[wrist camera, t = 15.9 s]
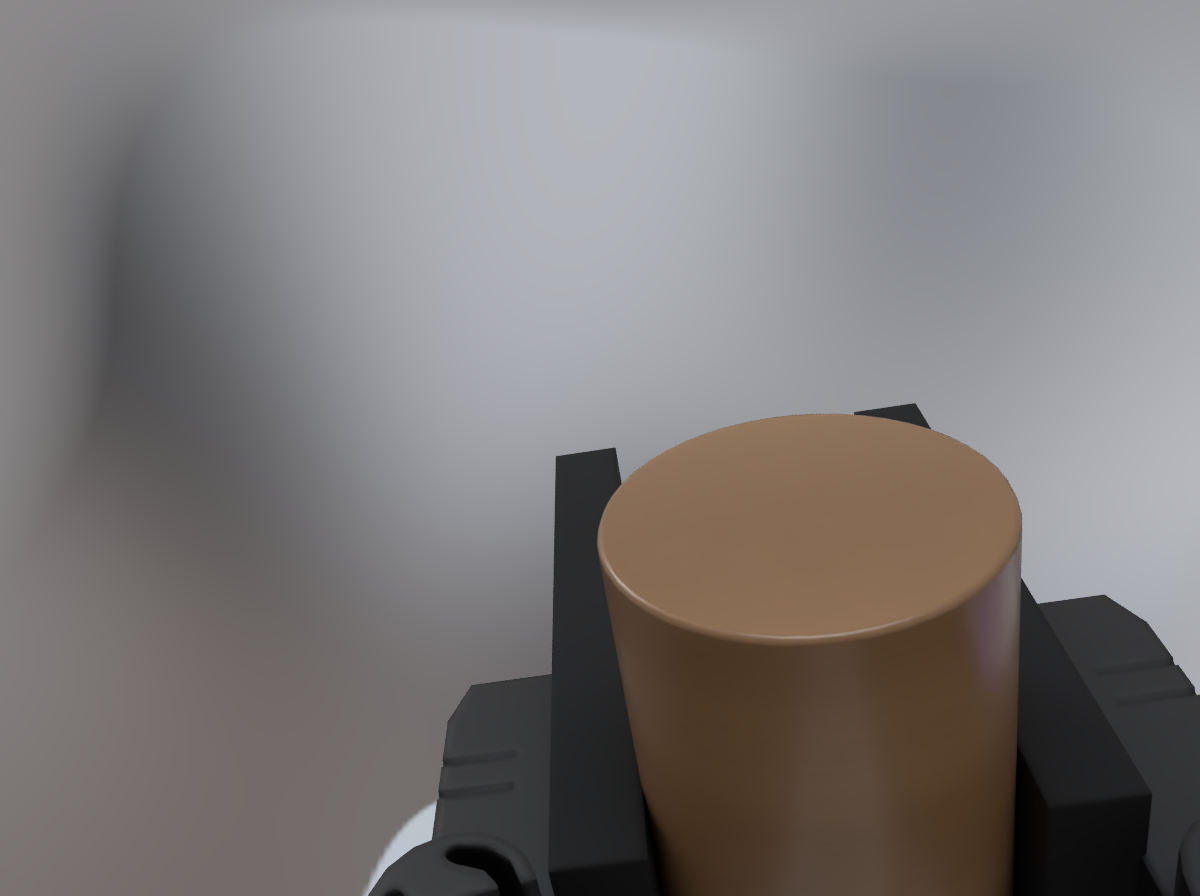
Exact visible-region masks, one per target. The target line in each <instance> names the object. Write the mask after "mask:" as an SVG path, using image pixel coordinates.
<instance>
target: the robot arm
mask: <svg viewBox="0 0 1200 896" xmlns="http://www.w3.org/2000/svg"><path fill="white" fill-rule="evenodd" d="M854 415H864V416H871V417H879V418H886V419H891V420H896V421H901V422H906V423H910V424H914V425H917V426H921V427H924V428H928V429H931V428H930V427H929V425H928V423H927V422H926V420H925V418H924V417H923V415H922V414H921V412H920V410H919V409H918V407H917V405H916V404H907V405H900V406H893V407H887V408H881V409H873V410H866V411H860V412H854ZM620 485H621V478H620V472H619V466H618V460H617V454H616V448H609V449H603V450H596V451H590V452H582V453H575V454H569V455H562V456H556V481H555V534H554V535H555V536H554V588H553V640H552V642H553V643H552V674H550V675H543V676H535V677H528V678H520V679H513V680H506V681H500V682H491V683H484V684H477V685H471V687H470V689H469V690H468V692H467V693H466V695H465V696H464V698H463V699H462V701H461V702H460V704H459V705H458V707H457V708H456V710H455V711H454V713H453V714H452V716H451V717H450V719H449V720H448V725H447V732H446V739H445V747H444V754H443V767H442V769H441V776H440V784H439V791H438V792H439V800H437V806H436V813H435V821H434V828H433V836H432V840H431V841H429V842H426V843H424V844H421V845H419V846H416V847H414V848H412V849H411V850H410V851H409V852H407V853H406V854H405V855H403V856H402V857H401V858H399V859H398V860H397V861H396V862H394V863H393V864H392V865H390V866H389V867H388V868H387V869H386V870H385V872H384V873H383V875H382V876H381V878H380V879H379V880H378V882H377V883H376V885H375V886H374V888H373V889H372V890H371V892H370V893H369V895H368V896H662V893H661V887H660V882H659V876H658V871H657V866H656V860H655V855H654V849H653V844H652V839H651V833H650V828H649V822H648V817H647V812H646V806H645V801H644V795H643V790H642V785H641V781H640V776H639V771H638V765H637V760H636V755H635V749H634V744H633V738H632V733H631V728H630V722H629V717H628V711H627V706H626V701H625V695H624V690H623V684H622V679H621V674H620V668H619V663H618V657H617V652H616V647H615V641H614V636H613V630H612V625H611V620H610V614H609V609H608V604H607V598H606V593H605V587H604V582H603V577H602V571H601V566H600V560H599V554H598V548H597V536H598V528H599V525H600V521H601V518H602V515H603V512H604V510H605V508H606V506H607V504H608V502H609V500H610V498H611V497H612V496H613V494H614V493H615V492H616V490H617V489H618V488H619V487H620ZM1013 896H1200V695H1196V693H1195V687H1194V686H1193V684H1192V683H1191V682H1190V680H1189V679H1188V678H1187V677H1186V675H1185V673H1184V672H1183V671H1182V669H1181V668H1180V667H1179V665H1175V664H1174V662H1173V657H1172V656H1171V654H1170V653H1169V652H1168V650H1167V649H1166V648H1165V646H1164V645H1163V643H1162V642H1161V641H1160V639H1159V638H1158V637H1157V635H1156V634H1155V633H1154V631H1153V630H1152V629H1151V627H1150V626H1149V624H1148V623H1147V622H1146V621H1144V620H1143V619H1141V618H1139V617H1138V616H1136V615H1135V614H1133V613H1132V612H1130V611H1129V610H1127V609H1126V608H1124V607H1122V606H1121V605H1119V604H1118V603H1116V602H1115V601H1113V600H1112V599H1110V598H1109V597H1107V596H1106V595H1099V596H1091V597H1084V598H1077V599H1069V600H1063V601H1055V602H1048V603H1040V604H1037V603H1036V601H1035V599H1034V598H1033V596H1032V595H1031V593H1030V591H1029V590H1028V588H1027V586H1026V585H1025V583H1024V581H1023V580H1022V578H1021V594H1020V636H1019V678H1018V719H1017V761H1016V803H1015V844H1014V886H1013Z"/></svg>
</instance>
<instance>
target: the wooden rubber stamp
mask: <svg viewBox="0 0 1200 896" xmlns="http://www.w3.org/2000/svg"><path fill="white" fill-rule="evenodd" d="M597 548H598V554H599V560H600V566H601V571H602V577H603V582H604V587H605V593H606V598H607V604H608V609H609V614H610V620H611V625H612V630H613V636H614V641H615V647H616V652H617V657H618V663H619V668H620V674H621V679H622V684H623V690H624V695H625V701H626V706H627V711H628V717H629V722H630V728H631V733H632V738H633V744H634V749H635V755H636V760H637V765H638V771H639V776H640V781H641V785H642V790H643V795H644V801H645V806H646V812H647V817H648V822H649V828H650V833H651V839H652V844H653V849H654V855H655V860H656V866H657V871H658V876H659V882H660V887H661V893H662V896H1013V886H1014V844H1015V803H1016V761H1017V719H1018V678H1019V636H1020V594H1021V553H1022V552H1021V551H1022V550H1021V549H1022V513H1021V509H1020V506H1019V502H1018V499H1017V497H1016V495H1015V493H1014V491H1013V489H1012V487H1011V486H1010V484H1009V482H1008V480H1007V479H1006V478H1005V476H1004V475H1003V474H1002V473H1001V472H1000V470H999V469H998V468H997V467H996V466H995V465H994V464H992V463H991V462H990V461H989V460H988V459H987V458H986V457H984V456H983V455H981V454H980V453H978V452H977V451H975V450H974V449H972V448H971V447H969V446H968V445H966V444H964V443H961V442H960V441H958V440H955V439H953V438H951V437H950V436H947V435H944V434H942V433H939V432H936V431H934V430H931V429H928V428H924V427H921V426H917V425H914V424H910V423H906V422H901V421H896V420H891V419H886V418H879V417H871V416H864V415H848V414H805V415H792V416H791V415H790V416H783V417H773V418H767V419H761V420H756V421H750V422H745V423H741V424H737V425H733V426H729V427H724V428H721V429H718V430H715V431H712V432H709V433H706V434H703V435H700V436H698V437H695V438H693V439H690V440H688V441H685V442H683V443H681V444H679V445H677V446H675V447H673V448H670V449H668V450H666V451H665V452H663V453H661V454H660V455H658V456H656V457H655V458H653V459H651V460H650V461H648V462H647V463H645V464H644V465H643V466H642V467H640V468H639V469H638V470H636V471H635V472H634V473H633V474H632V475H630V476H629V478H627V479H626V480H625V481H624V482H623V483H622V484H621V485H620V487H619V488H618V489H617V490H616V492H615V493H614V494H613V496H612V497H611V498H610V500H609V502H608V504H607V506H606V508H605V510H604V512H603V515H602V518H601V521H600V525H599V528H598V536H597Z"/></svg>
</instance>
